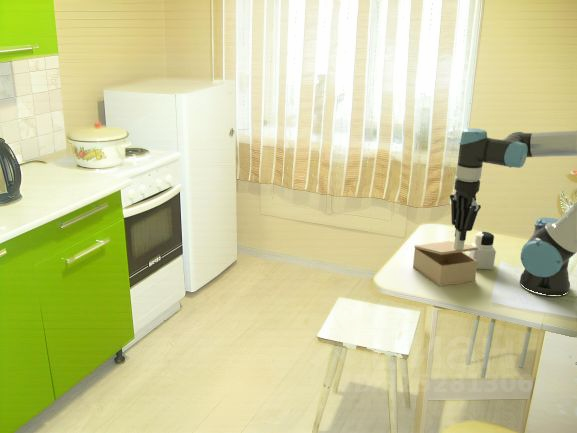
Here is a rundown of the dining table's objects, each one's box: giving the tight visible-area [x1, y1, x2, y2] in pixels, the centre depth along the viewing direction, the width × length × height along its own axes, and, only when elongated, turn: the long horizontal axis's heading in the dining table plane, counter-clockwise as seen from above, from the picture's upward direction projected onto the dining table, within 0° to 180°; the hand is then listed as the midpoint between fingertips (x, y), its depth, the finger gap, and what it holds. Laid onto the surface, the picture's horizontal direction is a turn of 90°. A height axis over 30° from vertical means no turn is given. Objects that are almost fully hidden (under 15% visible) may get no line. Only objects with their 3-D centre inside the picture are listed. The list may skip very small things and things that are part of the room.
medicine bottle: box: [469, 231, 497, 271], centre depth 214 cm, size 7×7×12 cm
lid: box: [414, 240, 478, 255], centre depth 206 cm, size 16×14×1 cm
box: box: [412, 247, 478, 287], centre depth 208 cm, size 16×14×7 cm
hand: (458, 248), depth 199 cm, fingers closed
